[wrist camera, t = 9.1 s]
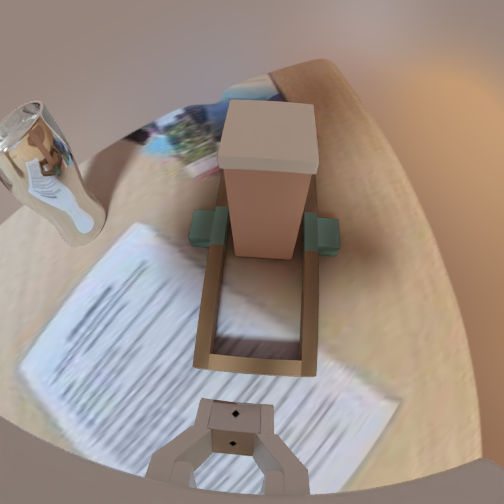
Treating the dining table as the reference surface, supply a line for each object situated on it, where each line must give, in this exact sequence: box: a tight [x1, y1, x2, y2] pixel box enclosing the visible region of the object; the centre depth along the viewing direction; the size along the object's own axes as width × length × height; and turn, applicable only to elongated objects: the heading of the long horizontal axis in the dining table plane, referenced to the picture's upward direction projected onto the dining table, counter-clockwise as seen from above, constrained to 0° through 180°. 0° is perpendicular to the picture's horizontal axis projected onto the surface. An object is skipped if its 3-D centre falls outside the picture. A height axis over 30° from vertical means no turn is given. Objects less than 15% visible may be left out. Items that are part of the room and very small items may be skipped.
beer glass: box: [0, 100, 106, 247], centre depth 22 cm, size 7×7×15 cm
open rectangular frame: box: [189, 169, 340, 377], centre depth 27 cm, size 13×25×2 cm, turn 175°
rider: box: [217, 100, 319, 260], centre depth 22 cm, size 5×5×13 cm
